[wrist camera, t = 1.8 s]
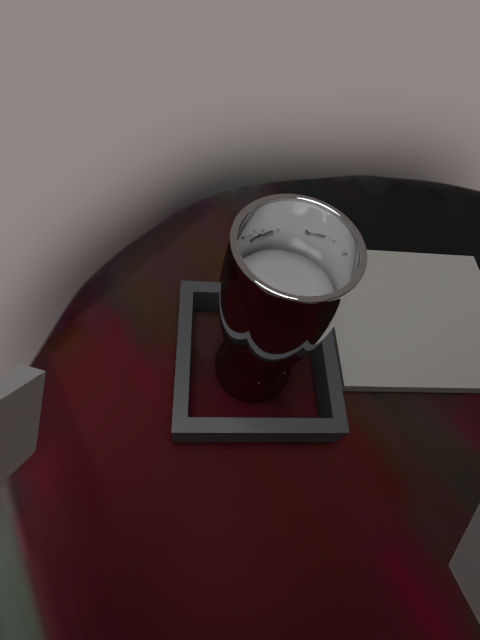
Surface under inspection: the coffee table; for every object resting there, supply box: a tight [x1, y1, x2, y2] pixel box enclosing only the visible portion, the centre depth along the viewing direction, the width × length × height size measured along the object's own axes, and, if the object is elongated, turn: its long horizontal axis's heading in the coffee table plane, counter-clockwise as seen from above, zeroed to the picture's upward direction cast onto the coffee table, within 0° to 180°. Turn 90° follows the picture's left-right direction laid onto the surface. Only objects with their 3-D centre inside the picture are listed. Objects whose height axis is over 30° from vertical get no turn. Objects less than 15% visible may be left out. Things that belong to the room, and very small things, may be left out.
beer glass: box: [215, 194, 367, 402], centre depth 24 cm, size 7×7×15 cm
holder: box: [171, 281, 349, 442], centre depth 29 cm, size 12×12×3 cm
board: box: [332, 250, 480, 393], centre depth 34 cm, size 16×14×1 cm
